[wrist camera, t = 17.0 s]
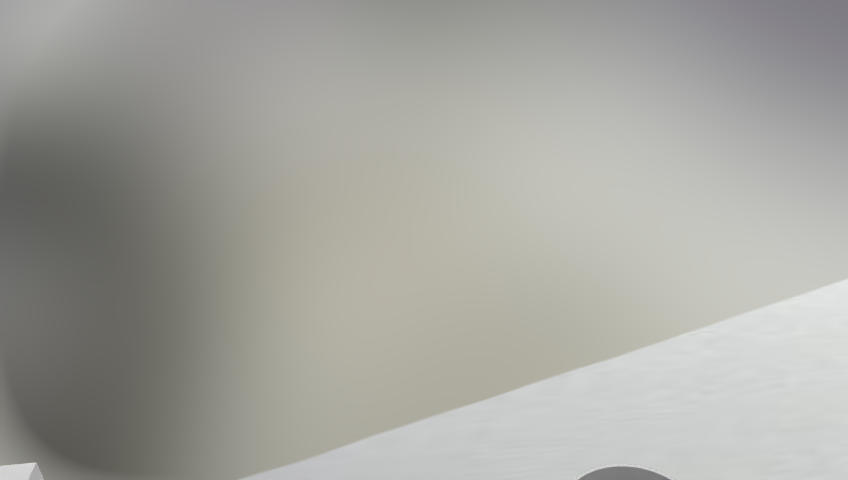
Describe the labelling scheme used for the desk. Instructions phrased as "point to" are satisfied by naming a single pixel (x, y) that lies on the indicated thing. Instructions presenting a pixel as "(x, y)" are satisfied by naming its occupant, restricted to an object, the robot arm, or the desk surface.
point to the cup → (623, 473)
